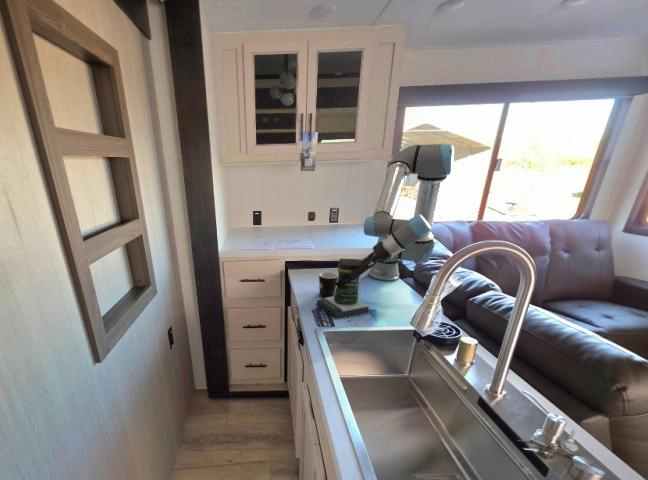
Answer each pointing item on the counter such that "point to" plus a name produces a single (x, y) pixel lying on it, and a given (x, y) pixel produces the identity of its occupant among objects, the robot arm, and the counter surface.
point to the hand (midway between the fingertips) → (339, 282)
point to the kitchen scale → (341, 308)
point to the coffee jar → (350, 290)
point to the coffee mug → (327, 284)
